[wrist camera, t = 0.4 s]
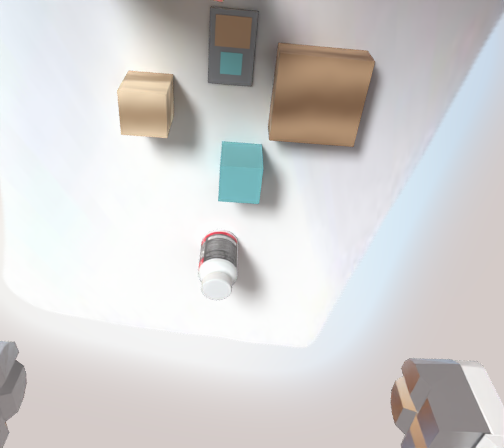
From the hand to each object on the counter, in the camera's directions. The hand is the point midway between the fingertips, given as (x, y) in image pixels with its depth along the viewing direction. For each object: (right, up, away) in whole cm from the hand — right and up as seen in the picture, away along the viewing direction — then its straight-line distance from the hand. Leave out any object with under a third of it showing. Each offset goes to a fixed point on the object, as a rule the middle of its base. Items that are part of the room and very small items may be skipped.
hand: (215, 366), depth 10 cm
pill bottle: (-4, 0, +58) cm, 58 cm away
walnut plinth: (+8, +19, +44) cm, 48 cm away
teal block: (-1, +11, +49) cm, 50 cm away
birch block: (-11, +18, +44) cm, 49 cm away
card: (-1, +22, +40) cm, 46 cm away
